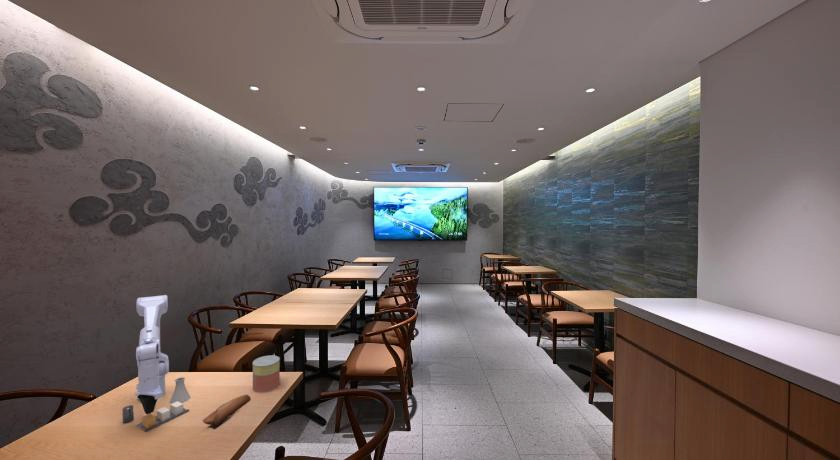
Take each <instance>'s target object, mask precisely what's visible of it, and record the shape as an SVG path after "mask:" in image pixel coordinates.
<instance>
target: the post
mask: <svg viewBox="0 0 840 460" xmlns="http://www.w3.org/2000/svg"><path fill="white" fill-rule="evenodd" d="M121 411H122V424H129V423H132V422H133V421H134V415H135V414H134V405H132V404H131V405H126V406H124V407H123V408H122V410H121Z"/></svg>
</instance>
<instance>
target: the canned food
mask: <svg viewBox="0 0 840 460" xmlns="http://www.w3.org/2000/svg"><path fill="white" fill-rule="evenodd" d="M280 360H281V358H280V356H277V355H273V354H272V355H263V356H260V357H257V358H255V359H254V360H253V361H252V391H253V392H255V393H258V394H262V393H263V394H264V393H269V392H272V391H274V390H276V389H278V388H279V387H278V386H280V385H281V382H280V381H281V380H280V377H281V376H280V375H281V373H280V368H281V367H280Z"/></svg>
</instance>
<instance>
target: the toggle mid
mask: <svg viewBox="0 0 840 460" xmlns="http://www.w3.org/2000/svg"><path fill="white" fill-rule="evenodd" d="M156 416H157V419H159V420H161V421H164V420H166V419H168V418H170V409H168V408H167V407H165V406H164V407H162V408H159V409H157V410H156Z"/></svg>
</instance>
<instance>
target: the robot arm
mask: <svg viewBox="0 0 840 460" xmlns="http://www.w3.org/2000/svg"><path fill="white" fill-rule="evenodd" d="M168 303H169V299H168V295H167V294H164V295H156V296H155V295H154V296H153V295H152V296H145V297H138V298H137V299H136V303H135V304H136V305H135V306H136V313H137V314H138V315H139V317H143V318H144V319H143V321H144V323H143V324H144V326H143V328H142V329H141V330H140V331H139V332H140V333H139V341H138V346H136V348H135V349H136V351H135V358H136V364H137V369H138V371H137V377H138V383H136V385H135V386H136V390H137V391H135V392H134V395H135V396H137V397H136V398H137V399H136V400H138V401H139V402H140V403H141V405H142V409H143V413H144V414H145V415H148V414H150V413H151V414H152V413H154V412H155V408H156V405H157V401H158V400H159V399H161V398H163V397H164V396H165V395H166V375H168V373H170V361H169V355H167V354H166V353H163V352H162V351H161V317H162V315H164V314H166V313H167V311H168V305H169V304H168Z"/></svg>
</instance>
